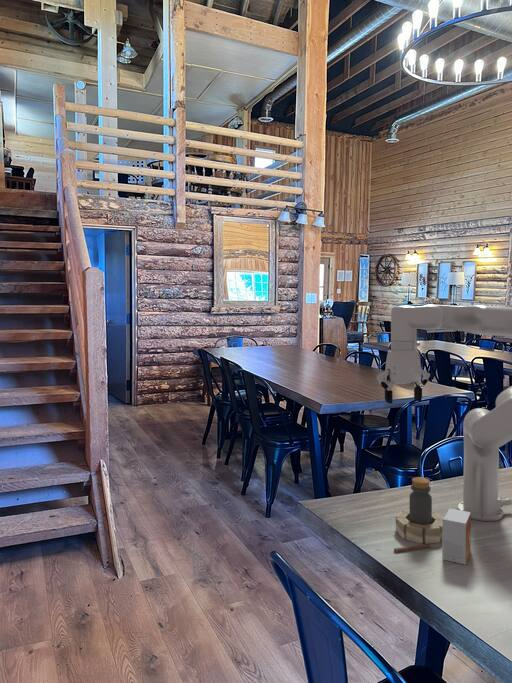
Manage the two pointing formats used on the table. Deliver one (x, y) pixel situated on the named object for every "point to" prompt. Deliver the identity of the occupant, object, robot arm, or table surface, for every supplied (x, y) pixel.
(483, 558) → the table surface
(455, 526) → the small box
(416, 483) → the bottle
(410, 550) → the brown wooden stick
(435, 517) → the segmented wooden ring
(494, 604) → the table surface
